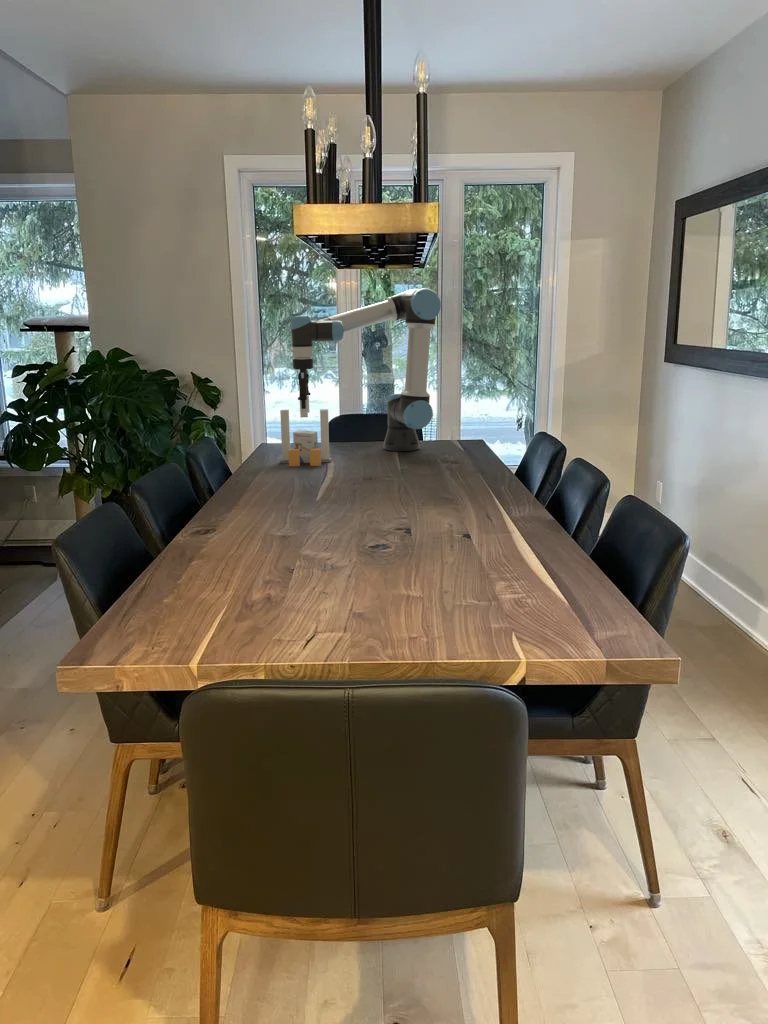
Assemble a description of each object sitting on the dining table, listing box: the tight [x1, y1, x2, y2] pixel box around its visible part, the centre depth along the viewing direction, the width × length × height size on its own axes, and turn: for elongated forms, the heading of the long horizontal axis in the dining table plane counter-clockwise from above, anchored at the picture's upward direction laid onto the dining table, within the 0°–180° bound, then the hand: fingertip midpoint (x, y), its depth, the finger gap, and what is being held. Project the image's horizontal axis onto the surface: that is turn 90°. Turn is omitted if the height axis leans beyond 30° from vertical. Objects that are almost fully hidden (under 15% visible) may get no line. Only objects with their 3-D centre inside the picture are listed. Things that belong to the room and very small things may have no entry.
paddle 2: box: [309, 448, 322, 467], centre depth 289 cm, size 4×3×6 cm
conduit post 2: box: [319, 408, 332, 463], centre depth 294 cm, size 4×4×20 cm
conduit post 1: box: [279, 409, 291, 464], centre depth 293 cm, size 4×4×20 cm
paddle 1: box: [288, 448, 301, 467], centre depth 289 cm, size 4×3×6 cm
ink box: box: [292, 429, 319, 464], centre depth 295 cm, size 9×5×12 cm, turn 73°
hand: (305, 414), depth 292 cm, fingers open, 13 cm apart
